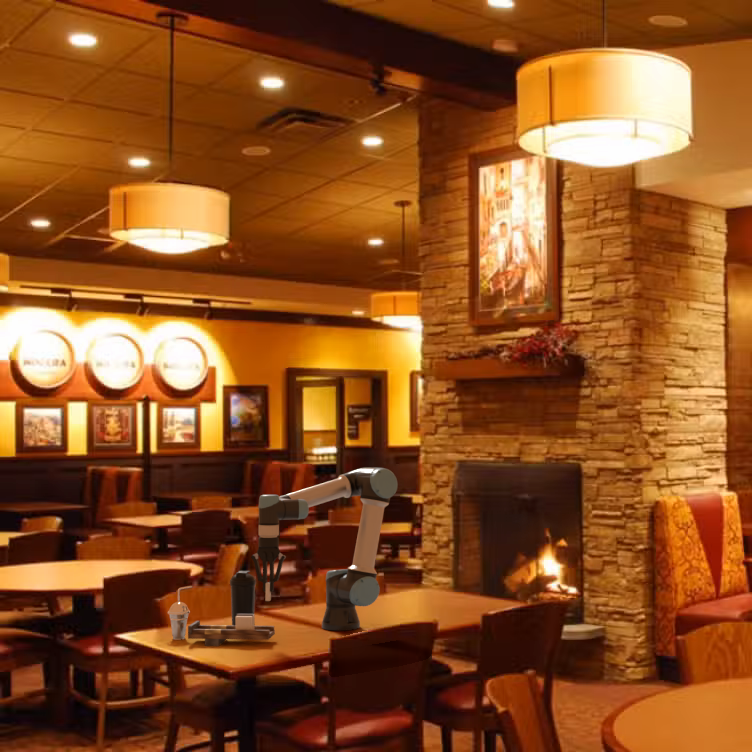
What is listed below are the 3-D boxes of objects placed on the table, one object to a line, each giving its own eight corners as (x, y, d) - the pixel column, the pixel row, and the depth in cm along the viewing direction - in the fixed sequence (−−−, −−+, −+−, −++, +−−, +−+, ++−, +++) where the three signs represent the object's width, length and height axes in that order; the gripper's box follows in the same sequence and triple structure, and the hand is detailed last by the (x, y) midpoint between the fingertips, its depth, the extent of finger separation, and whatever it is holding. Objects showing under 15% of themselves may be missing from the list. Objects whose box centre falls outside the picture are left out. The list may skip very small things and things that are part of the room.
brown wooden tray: (275, 640, 420) (275, 621, 420) (268, 646, 407) (268, 627, 407) (197, 639, 423) (197, 620, 423) (187, 645, 410) (187, 626, 411)
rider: (254, 630, 417) (254, 612, 418) (251, 633, 412) (251, 615, 412) (238, 630, 418) (238, 612, 418) (235, 633, 412) (235, 615, 413)
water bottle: (258, 627, 447) (258, 569, 448) (252, 632, 437) (252, 573, 438) (233, 627, 448) (233, 569, 449) (227, 632, 438) (227, 573, 439)
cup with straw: (176, 635, 430) (176, 583, 431) (195, 637, 426) (195, 584, 427) (162, 639, 423) (162, 586, 424) (182, 641, 419) (182, 587, 420)
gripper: (287, 535, 419) (287, 599, 417) (253, 535, 420) (253, 598, 419) (284, 537, 411) (283, 602, 410) (249, 537, 412) (248, 601, 411)
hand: (268, 600), depth 414 cm, fingers closed
